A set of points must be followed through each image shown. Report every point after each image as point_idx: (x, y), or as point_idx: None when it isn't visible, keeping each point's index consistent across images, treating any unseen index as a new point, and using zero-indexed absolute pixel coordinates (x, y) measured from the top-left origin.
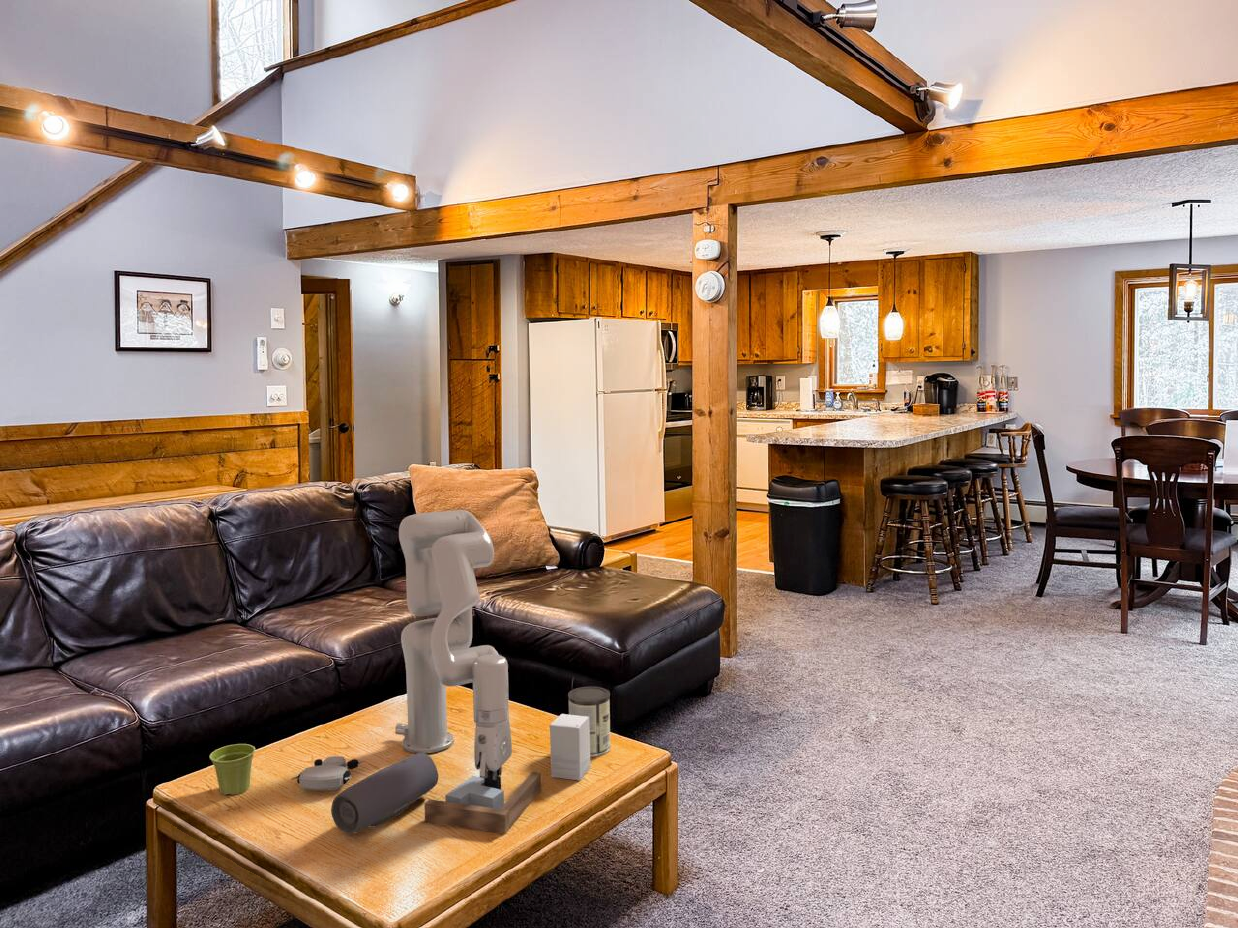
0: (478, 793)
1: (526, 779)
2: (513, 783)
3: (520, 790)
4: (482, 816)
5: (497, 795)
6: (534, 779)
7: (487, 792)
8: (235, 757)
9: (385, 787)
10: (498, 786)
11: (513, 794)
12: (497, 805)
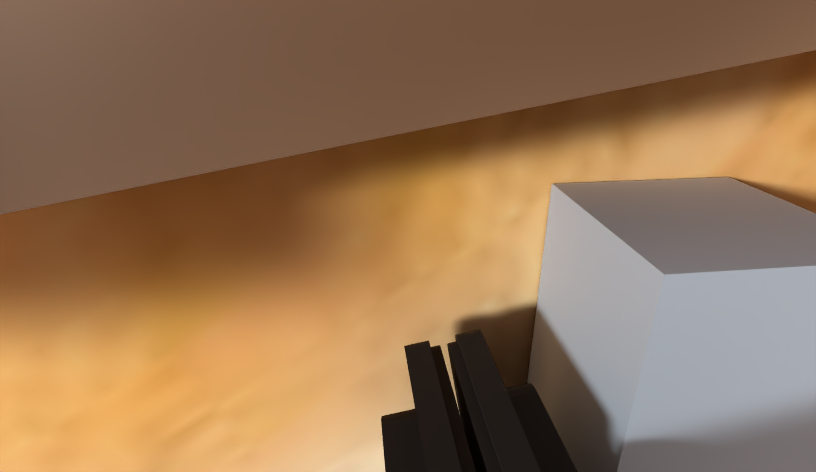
0: (797, 462)
1: (132, 171)
2: (65, 393)
3: (595, 6)
4: None
5: (805, 261)
6: (13, 6)
7: (761, 403)
8: None
9: None
10: (501, 405)
11: (775, 40)
12: (712, 206)
